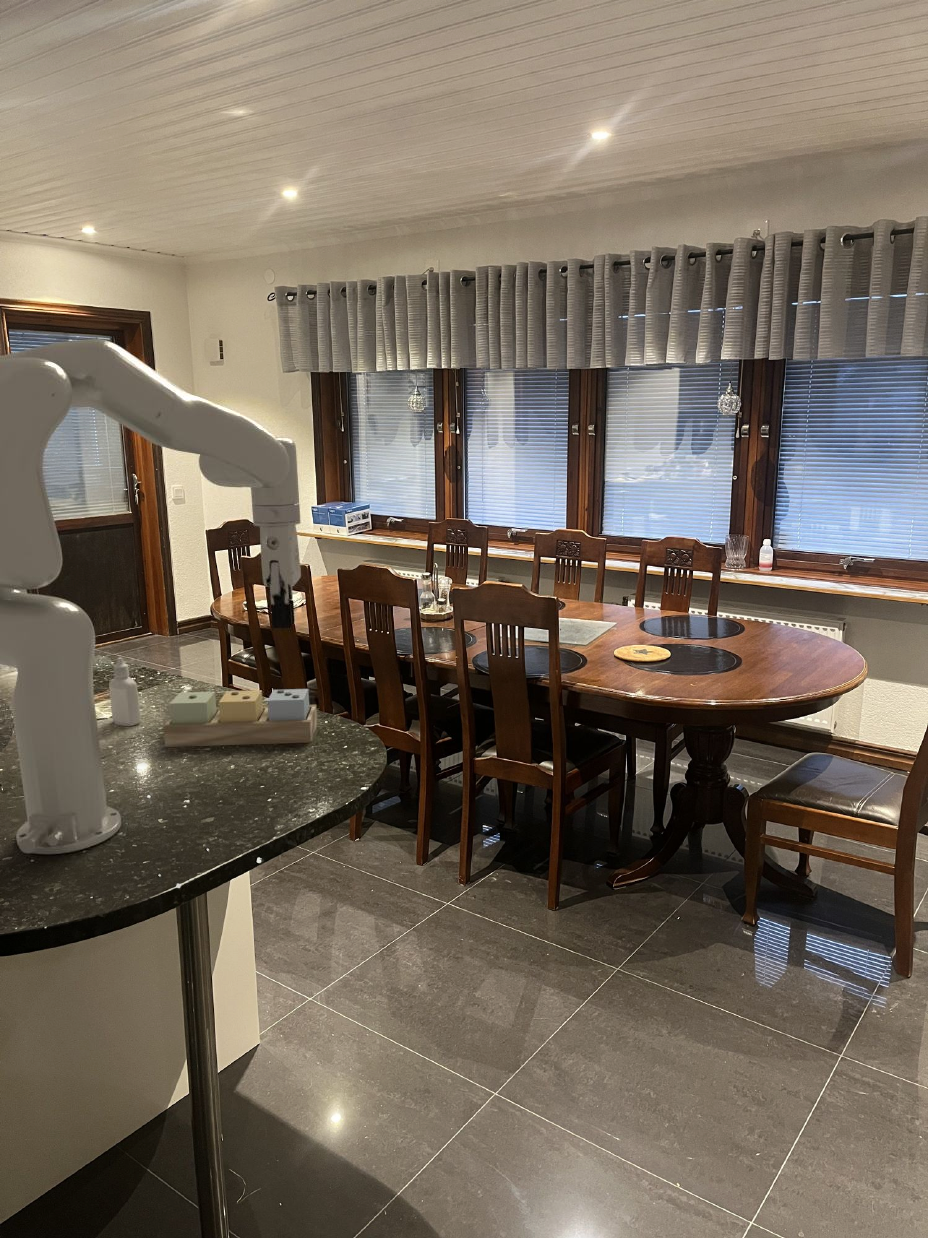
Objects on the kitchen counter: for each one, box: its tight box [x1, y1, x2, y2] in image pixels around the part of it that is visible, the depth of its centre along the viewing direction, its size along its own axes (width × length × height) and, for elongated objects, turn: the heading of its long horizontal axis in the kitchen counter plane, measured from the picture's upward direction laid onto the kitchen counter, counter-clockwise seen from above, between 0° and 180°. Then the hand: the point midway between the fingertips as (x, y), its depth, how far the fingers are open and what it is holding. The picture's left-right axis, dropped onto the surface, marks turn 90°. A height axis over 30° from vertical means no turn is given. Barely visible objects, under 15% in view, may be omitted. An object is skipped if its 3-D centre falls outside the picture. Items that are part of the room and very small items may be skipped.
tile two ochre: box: [218, 689, 264, 722], centre depth 151 cm, size 6×6×4 cm
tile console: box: [162, 704, 318, 748], centre depth 152 cm, size 9×24×4 cm, turn 92°
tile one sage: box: [169, 691, 217, 724], centre depth 151 cm, size 6×6×4 cm
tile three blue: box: [266, 688, 310, 721], centre depth 151 cm, size 6×6×4 cm
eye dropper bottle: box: [108, 657, 142, 727], centre depth 158 cm, size 4×6×12 cm
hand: (283, 624), depth 148 cm, fingers closed
